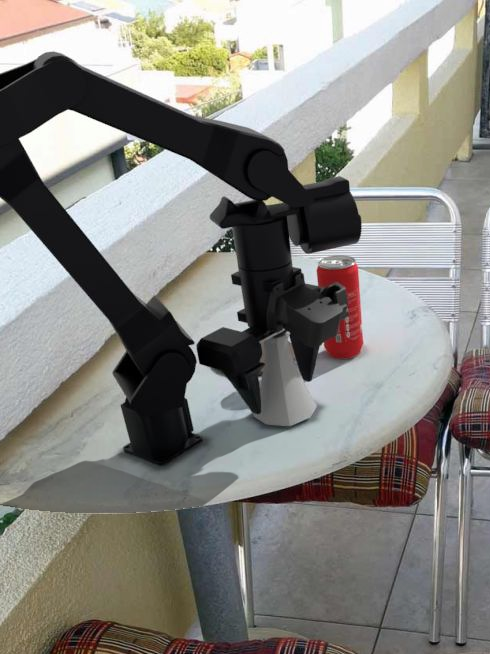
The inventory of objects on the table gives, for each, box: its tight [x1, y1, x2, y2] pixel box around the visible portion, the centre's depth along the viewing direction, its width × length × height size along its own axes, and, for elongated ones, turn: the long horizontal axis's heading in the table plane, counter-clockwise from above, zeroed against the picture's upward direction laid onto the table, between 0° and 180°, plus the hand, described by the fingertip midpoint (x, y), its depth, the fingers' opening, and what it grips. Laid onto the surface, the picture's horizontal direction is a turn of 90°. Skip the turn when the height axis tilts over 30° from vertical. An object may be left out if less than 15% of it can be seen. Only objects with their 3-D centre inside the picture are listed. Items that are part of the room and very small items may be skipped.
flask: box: [252, 330, 318, 427], centre depth 98 cm, size 7×7×10 cm
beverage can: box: [316, 254, 364, 360], centre depth 110 cm, size 5×5×12 cm
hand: (282, 396), depth 99 cm, fingers open, 9 cm apart
